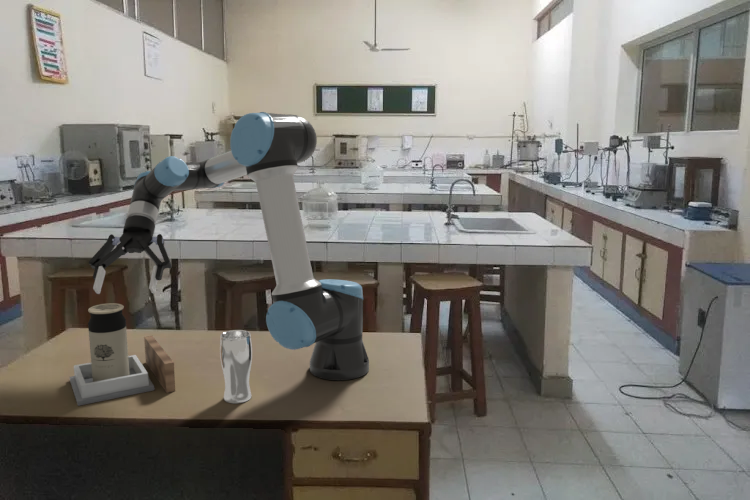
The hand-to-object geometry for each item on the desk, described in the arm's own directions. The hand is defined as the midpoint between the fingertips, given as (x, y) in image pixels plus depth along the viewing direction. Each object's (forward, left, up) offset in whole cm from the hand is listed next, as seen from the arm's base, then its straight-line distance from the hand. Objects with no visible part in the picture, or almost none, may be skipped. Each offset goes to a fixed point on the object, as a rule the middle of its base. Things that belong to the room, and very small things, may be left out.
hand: (124, 291), depth 146 cm
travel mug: (-9, +6, -19) cm, 22 cm away
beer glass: (-31, -17, -20) cm, 41 cm away
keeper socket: (-9, +6, -20) cm, 23 cm away
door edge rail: (-9, -5, -20) cm, 23 cm away
